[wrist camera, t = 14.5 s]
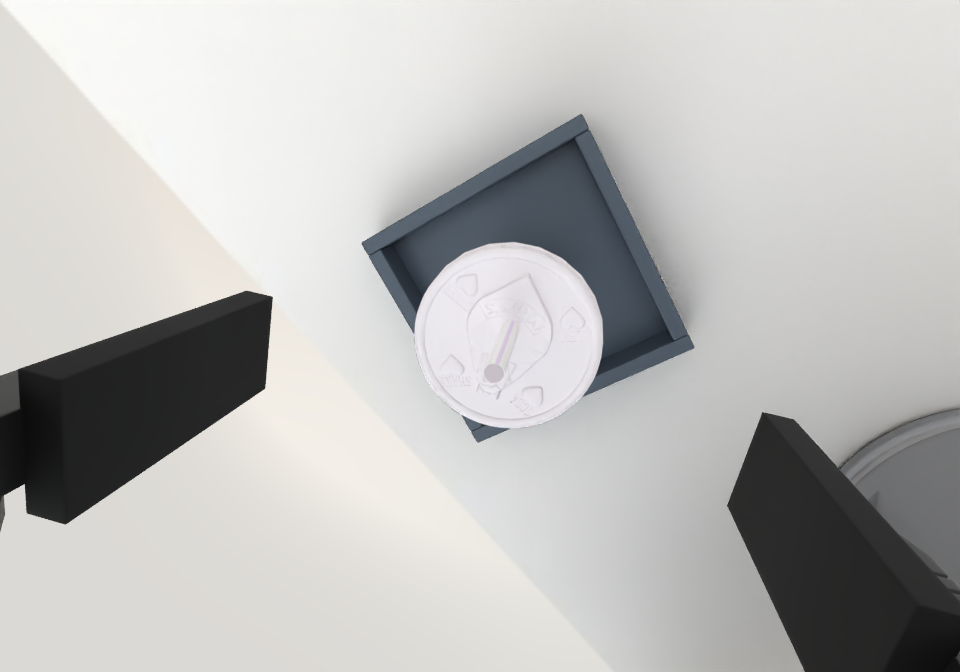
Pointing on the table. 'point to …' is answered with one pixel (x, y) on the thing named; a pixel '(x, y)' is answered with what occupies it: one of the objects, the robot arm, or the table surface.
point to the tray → (545, 246)
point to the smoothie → (509, 335)
